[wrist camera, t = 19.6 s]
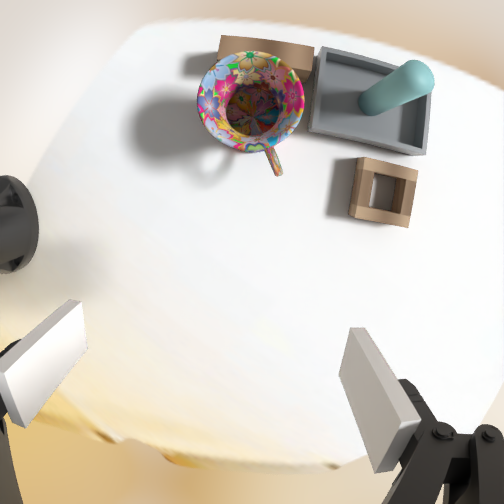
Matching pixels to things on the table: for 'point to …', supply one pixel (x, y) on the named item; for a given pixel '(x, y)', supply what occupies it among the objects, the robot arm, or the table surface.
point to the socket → (401, 194)
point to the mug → (251, 102)
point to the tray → (349, 113)
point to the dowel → (397, 88)
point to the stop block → (271, 52)
